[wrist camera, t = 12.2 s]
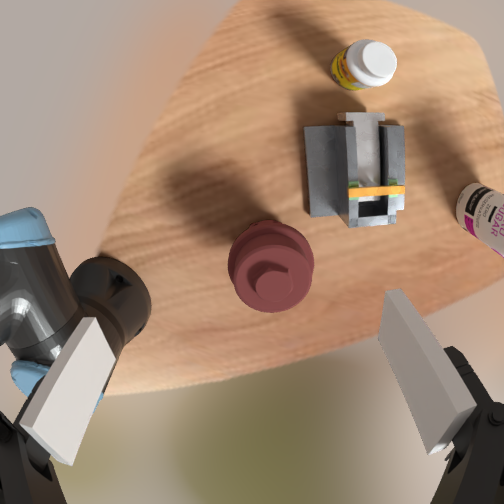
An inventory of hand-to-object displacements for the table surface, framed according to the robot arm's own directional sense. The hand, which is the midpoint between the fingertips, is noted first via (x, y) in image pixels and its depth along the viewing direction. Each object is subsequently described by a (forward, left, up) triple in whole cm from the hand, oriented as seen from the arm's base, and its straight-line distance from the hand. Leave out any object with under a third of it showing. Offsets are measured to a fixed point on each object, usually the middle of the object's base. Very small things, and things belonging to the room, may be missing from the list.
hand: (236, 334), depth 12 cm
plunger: (+15, +3, -28) cm, 32 cm away
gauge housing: (+15, +1, -29) cm, 32 cm away
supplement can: (+37, -5, -29) cm, 47 cm away
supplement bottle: (+15, +14, -29) cm, 36 cm away
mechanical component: (+2, -8, -29) cm, 30 cm away
